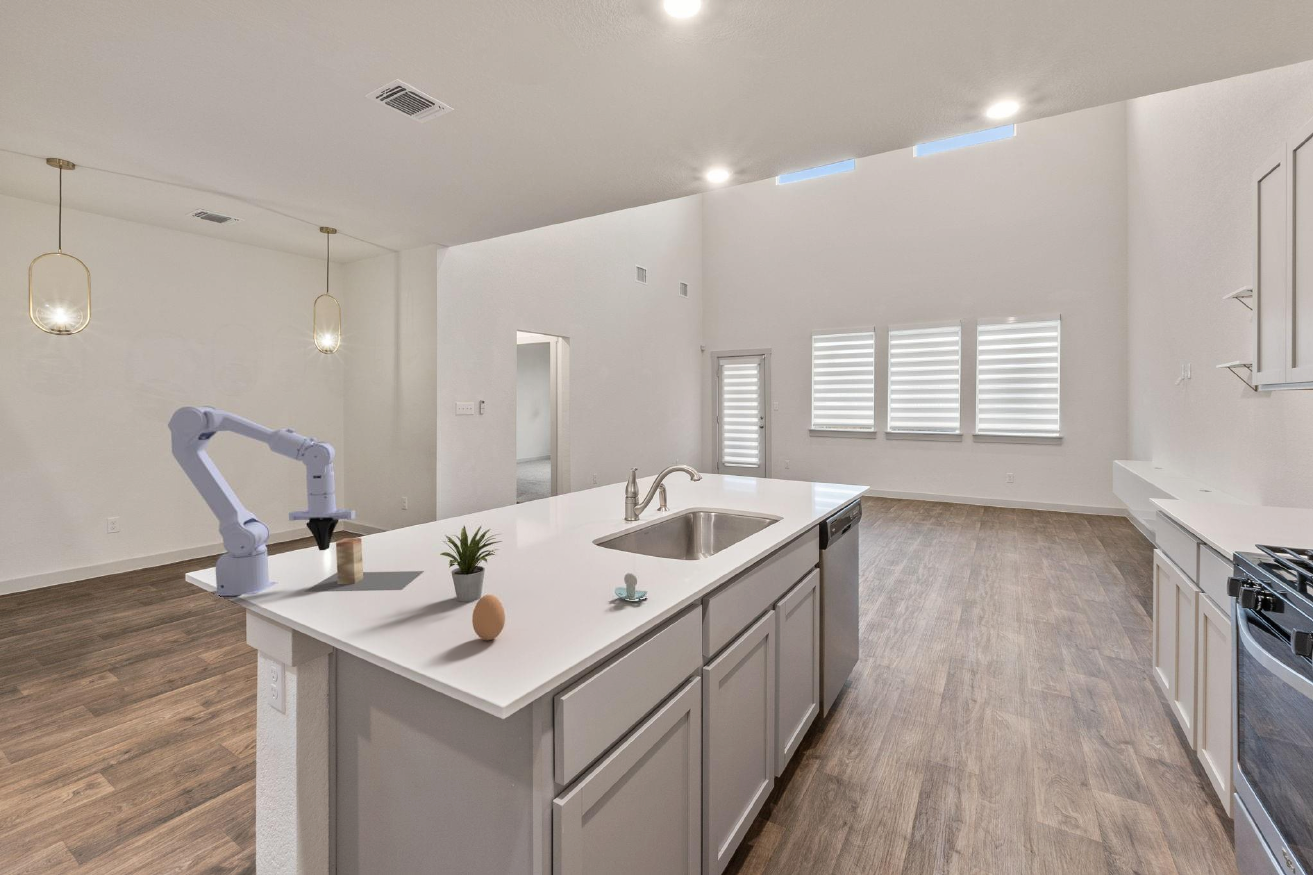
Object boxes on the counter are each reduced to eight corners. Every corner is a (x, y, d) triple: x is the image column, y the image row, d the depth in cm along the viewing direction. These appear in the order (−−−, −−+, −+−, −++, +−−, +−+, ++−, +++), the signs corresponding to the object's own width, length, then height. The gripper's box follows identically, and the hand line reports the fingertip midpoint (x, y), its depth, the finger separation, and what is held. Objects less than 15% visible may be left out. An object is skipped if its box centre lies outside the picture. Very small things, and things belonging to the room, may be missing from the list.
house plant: (480, 613, 116) (478, 535, 115) (420, 609, 119) (417, 533, 117) (512, 590, 130) (510, 520, 129) (457, 587, 132) (455, 518, 131)
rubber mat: (304, 593, 129) (304, 591, 129) (336, 574, 143) (336, 572, 143) (401, 591, 130) (401, 589, 129) (424, 572, 143) (424, 571, 143)
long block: (337, 583, 134) (335, 542, 133) (346, 578, 138) (344, 538, 137) (354, 583, 134) (353, 542, 133) (363, 578, 138) (361, 538, 137)
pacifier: (624, 593, 128) (611, 601, 123) (624, 566, 128) (611, 572, 123) (653, 597, 125) (642, 605, 120) (653, 569, 125) (642, 576, 120)
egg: (511, 638, 104) (510, 594, 103) (483, 649, 99) (482, 602, 99) (494, 630, 108) (493, 587, 107) (466, 639, 103) (465, 595, 103)
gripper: (360, 490, 139) (362, 544, 139) (300, 490, 138) (303, 545, 139) (345, 494, 131) (348, 552, 132) (282, 495, 131) (285, 553, 132)
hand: (324, 549), depth 135 cm, fingers closed
